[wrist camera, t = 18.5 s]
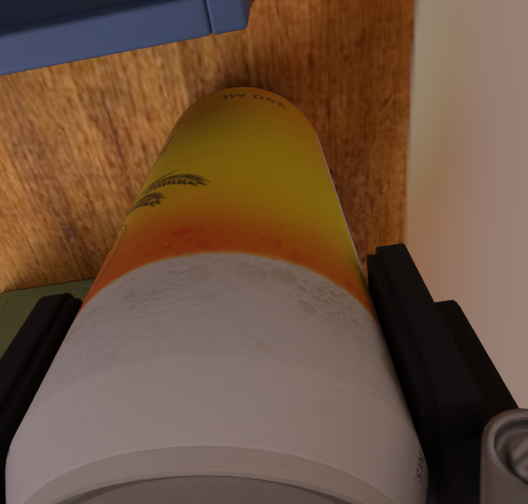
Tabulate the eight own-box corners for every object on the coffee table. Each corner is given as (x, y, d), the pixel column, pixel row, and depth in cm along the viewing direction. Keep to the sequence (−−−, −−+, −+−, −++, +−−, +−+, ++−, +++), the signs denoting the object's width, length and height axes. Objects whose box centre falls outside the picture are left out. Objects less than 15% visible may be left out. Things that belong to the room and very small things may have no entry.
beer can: (149, 97, 17) (-162, 484, 4) (311, 67, 17) (476, 409, 4) (190, 235, 20) (78, 688, 8) (327, 214, 20) (447, 661, 7)
